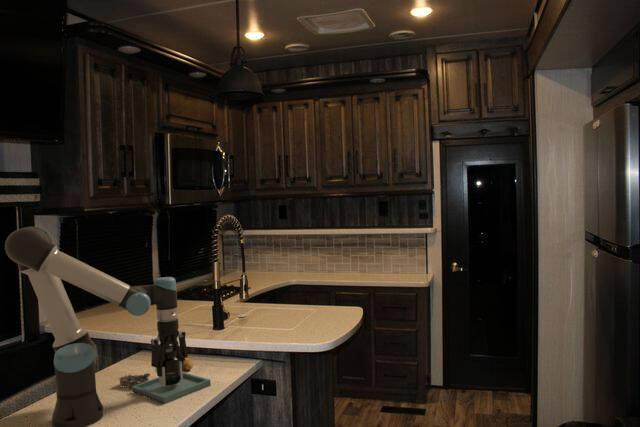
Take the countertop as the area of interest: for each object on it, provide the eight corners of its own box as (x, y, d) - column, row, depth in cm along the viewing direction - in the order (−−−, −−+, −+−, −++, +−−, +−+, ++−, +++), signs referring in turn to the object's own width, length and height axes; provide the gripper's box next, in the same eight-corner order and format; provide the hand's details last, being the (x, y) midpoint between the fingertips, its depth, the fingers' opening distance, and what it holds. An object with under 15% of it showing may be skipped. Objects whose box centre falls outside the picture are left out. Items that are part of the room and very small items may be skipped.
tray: (164, 404, 176) (164, 397, 176) (132, 392, 189) (131, 386, 189) (210, 385, 192) (210, 379, 192) (177, 376, 205) (177, 370, 204)
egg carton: (152, 383, 198) (151, 373, 198) (137, 390, 191) (137, 379, 191) (131, 380, 203) (130, 370, 203) (116, 387, 196) (115, 376, 196)
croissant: (197, 377, 212) (204, 358, 215) (179, 372, 205) (186, 352, 208) (167, 367, 225) (173, 349, 228) (148, 362, 218) (155, 344, 221)
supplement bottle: (168, 387, 186) (166, 354, 185) (158, 383, 190) (156, 351, 190) (184, 381, 191) (182, 349, 190) (174, 378, 195) (172, 346, 195)
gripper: (149, 326, 180) (153, 391, 180) (195, 315, 195) (199, 375, 196) (137, 324, 184) (141, 387, 185) (183, 312, 200) (186, 371, 200)
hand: (171, 381), depth 190 cm, fingers closed on supplement bottle, 7 cm apart
